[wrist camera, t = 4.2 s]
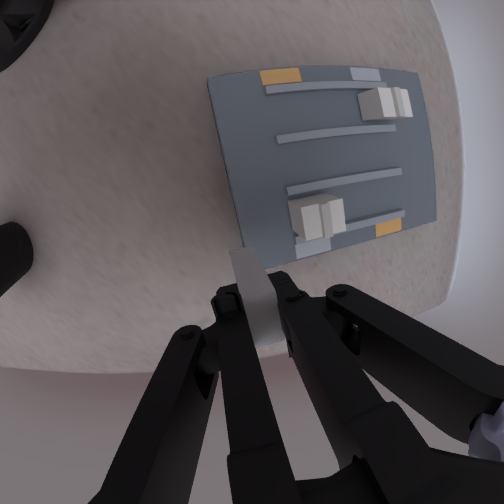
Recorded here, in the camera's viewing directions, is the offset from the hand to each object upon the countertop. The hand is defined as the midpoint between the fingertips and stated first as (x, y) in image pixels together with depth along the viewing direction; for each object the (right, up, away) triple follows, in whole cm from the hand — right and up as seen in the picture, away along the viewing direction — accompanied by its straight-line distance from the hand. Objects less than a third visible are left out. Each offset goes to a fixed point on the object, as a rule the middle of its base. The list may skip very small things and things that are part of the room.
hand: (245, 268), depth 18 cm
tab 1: (+6, +5, +9) cm, 12 cm away
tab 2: (+14, +17, +6) cm, 23 cm away
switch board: (+11, +12, +10) cm, 19 cm away
